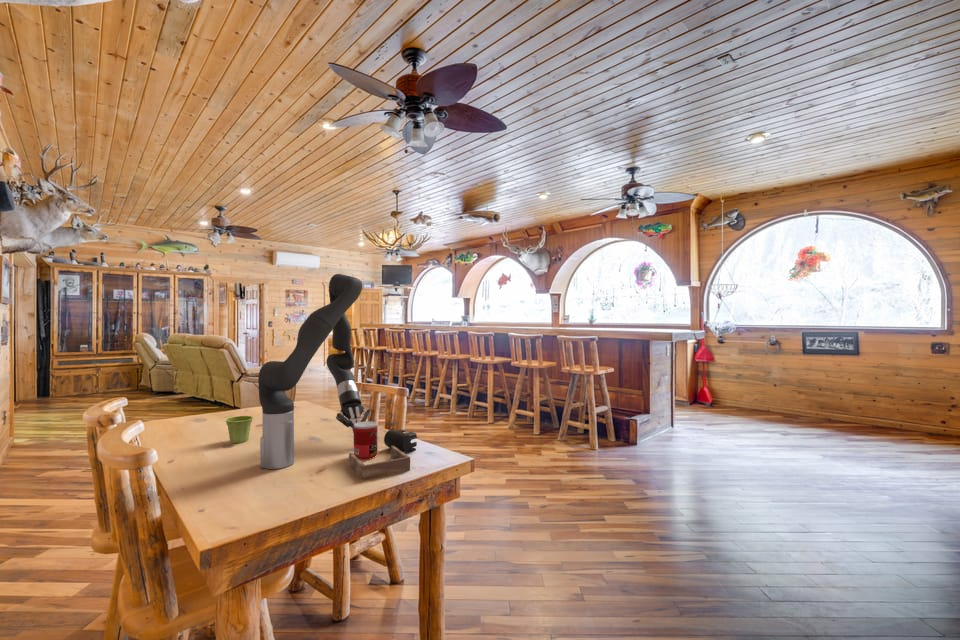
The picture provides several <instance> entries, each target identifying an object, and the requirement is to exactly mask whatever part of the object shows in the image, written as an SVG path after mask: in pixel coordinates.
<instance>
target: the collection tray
mask: <svg viewBox="0 0 960 640" xmlns="http://www.w3.org/2000/svg"><path fill="white" fill-rule="evenodd" d="M348 467H350V469H351V470H352V471H353V470H354V473H355V474H356V475H357V476H358V477H359V478H360V479H361V480H362V481H365V480H369V479H370V478H371V479H374V477H375V478H380V477H384V476H383V475H385V476H389V475H388V474H390V475H393V473H394V474H399V473H403V471H404V472H407V470H409V471H411V457H410V456H409V455H407V453H405V452H402V451H400V450H399V449H398V448H396V447H395V446H391V448H390V459H388V460H384V461H379V462H373V463H369V464H365V463H364V462H363V461H361V459H358V458H357V457H356V456H355V455H354V452H350V453H348ZM398 472H399V473H398ZM379 476H380V477H379Z"/></svg>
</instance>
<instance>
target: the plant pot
mask: <svg viewBox="0 0 960 640" xmlns="http://www.w3.org/2000/svg"><path fill="white" fill-rule="evenodd" d="M253 419H254V416H252V415H236V416H230V417H227V418H225V419H224V422H226V426H227V431H228V436H229V437H228V438H229V442H230V443H232V444H234V443H237V444H241V442H242V443H245V442H247V441H249V438H250V432H251V426H252V425H251V424H252V422H253Z"/></svg>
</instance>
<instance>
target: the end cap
mask: <svg viewBox="0 0 960 640" xmlns="http://www.w3.org/2000/svg"><path fill="white" fill-rule="evenodd" d="M417 437H418V435H417V433H416V432H415V431H414V432H413V431H409V432H406V430H404V429H397V430H395V429H389V430H387V432H386V433H385V435H384V437H383V443H384V445H385V446H386V447H388V448H389V449H391V446H395V447H396V448H398V449H399V450H400V451H402V452H403V453H405V454H409V453H412V452H414V451H416V450H417V449H416V448H415V447H417V446H418V445H417V444H418V443H417V441H414V442H412V441H413V440H416V439H417Z"/></svg>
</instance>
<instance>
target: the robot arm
mask: <svg viewBox="0 0 960 640" xmlns="http://www.w3.org/2000/svg"><path fill="white" fill-rule="evenodd" d="M328 282H329V283H328V295H329V296H328V297H329V303H328V304H326V305H323V306H321V307H320V308H318V309H316V310H314V311H312V312H311V313H310V314H309V316H308V317H307V318H306V319H305V320H304V322H302V324H301V326H300V327H299V329H298V333H297V340H296V342H297V343H296V344H295V348H294V349H293V351H292V352H291V353H290V354H289V356H288V357H287V358H286V359H285V360H284V361H279V360H270V361H267V362H265V363H264V364H262V366H261V368H260V369H259V371H258V372H259V373H258V376H257V377H258V378H257V379H258V381H257V383H258V396H259V397H258V400H259V404H260V405H261V410H262V411H261V412H262V420H261V421H262V423H261V424H262V436H261V437H260V440H259V441H260V442H259V443H260V444H259V445H260V454H259V455H260V457H259V458H260V463H259V465H260V468H261V469H266V470H267V469H269V470H277V469H283V468H286V467H287V468H288V467H290V466H292V465H293V464H294V463H295V403H294V401H293V399H291V398H290V397H288V395H287V391H290V390H292V389H293V388H295V386H297V384H298V383H299V381H300V380H301V378H302V376H303V374H304V373H305V371H306V370H307V367H308V366H309V364H310V362H311V360H312V358H314V356H315V354H316V353H317V352H318V350H319V349H320V347H321V345H322V344H323V343H324V341H325V340H326V339H327V338H328V337H329V336H330V334H331V332H332V335H331V337H332V338H331V341H332V342H331V345H332V348H333V349H334V350H335V351H336V350H337V351H342V353H341V352H340V353H331V354H329V355H328V356H327V357H326V366H327V367H326V368H327V369H328V371H329V372H330V374H331V375H332V376H333V379H334V381H335V385H336V389H337V390H336V391H337V397H338V400H339V406H340V412H337V413H336V416H335V419H336V420H337V421H339V422H340V423H341V424H342V425H344V426H345V427H346V428H349V427H350V428H351V429H352V433H353V435H354V424H355V423H358V422H364V421H367V420H368V417H369V415H370V414H371V409H366V408H364V407H365V406H364V405H363V404H362V399H361V397H360V396H361V395H360V392H359V389H358V387H357V384H356V380H355V375H354V373H353V372H352V371H351V370H352V369H353V368H354V366H355V359H354V356H353V355H354V354H353V351H352V345H351V343H352V328H351V327H352V326H351V323H350V321H349V319H348V317H347V314H346V312H347V311H348V310H349V309H350V308H351V306H353V305H354V303H355V302H356V301H357V300H358V298H359V297H360V296H361V293H362V290H363V282H362V281H361V279H359V278H358V277H355V276H351V275H346V274H341V273H336V274H334V275H332V276H331V278H330V280H329V281H328ZM362 414H363V417H362V419H361V416H362Z"/></svg>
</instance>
